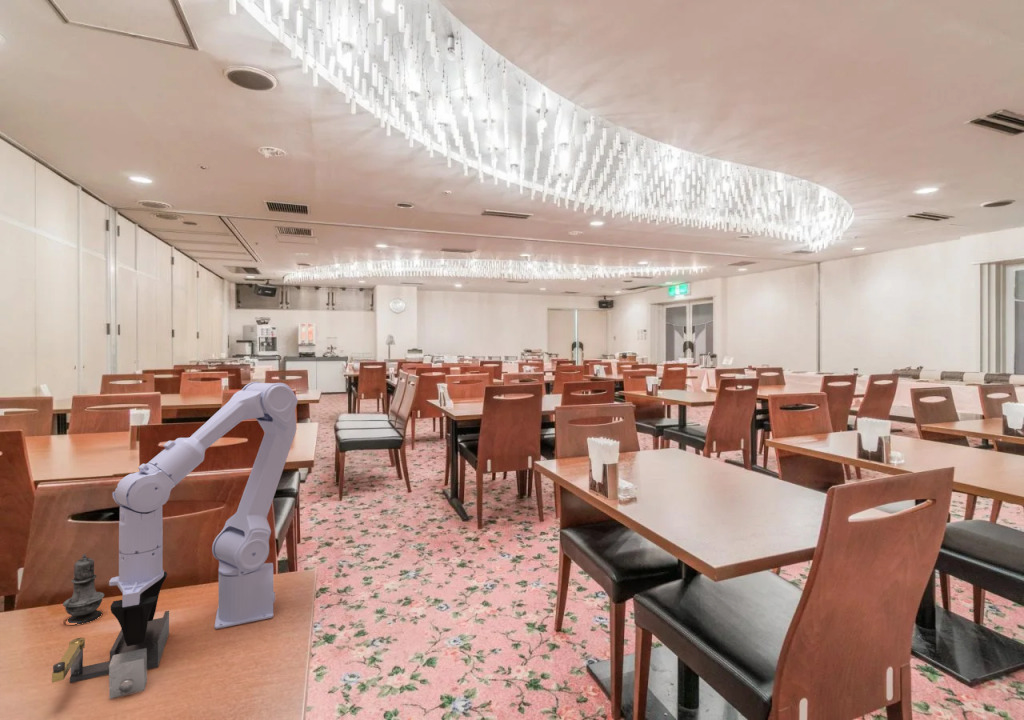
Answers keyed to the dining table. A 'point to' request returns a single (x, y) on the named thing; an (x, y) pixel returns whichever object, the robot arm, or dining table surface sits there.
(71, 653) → the lever
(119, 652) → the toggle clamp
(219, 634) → the dining table surface
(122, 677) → the knobbed drawer block
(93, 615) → the grey tall flared piece
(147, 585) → the robot arm
